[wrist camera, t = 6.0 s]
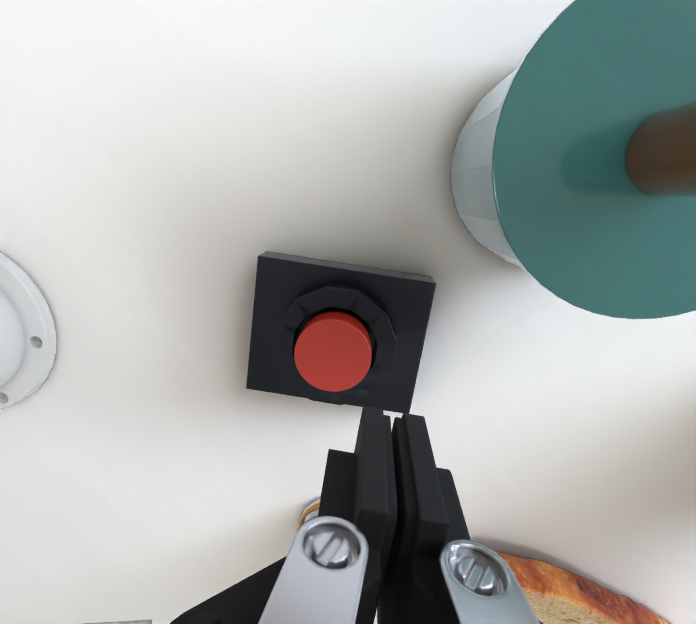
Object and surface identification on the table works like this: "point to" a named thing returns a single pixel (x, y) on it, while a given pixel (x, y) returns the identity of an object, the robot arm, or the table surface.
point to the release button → (333, 351)
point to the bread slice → (573, 596)
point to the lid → (603, 158)
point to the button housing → (347, 297)
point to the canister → (479, 174)
